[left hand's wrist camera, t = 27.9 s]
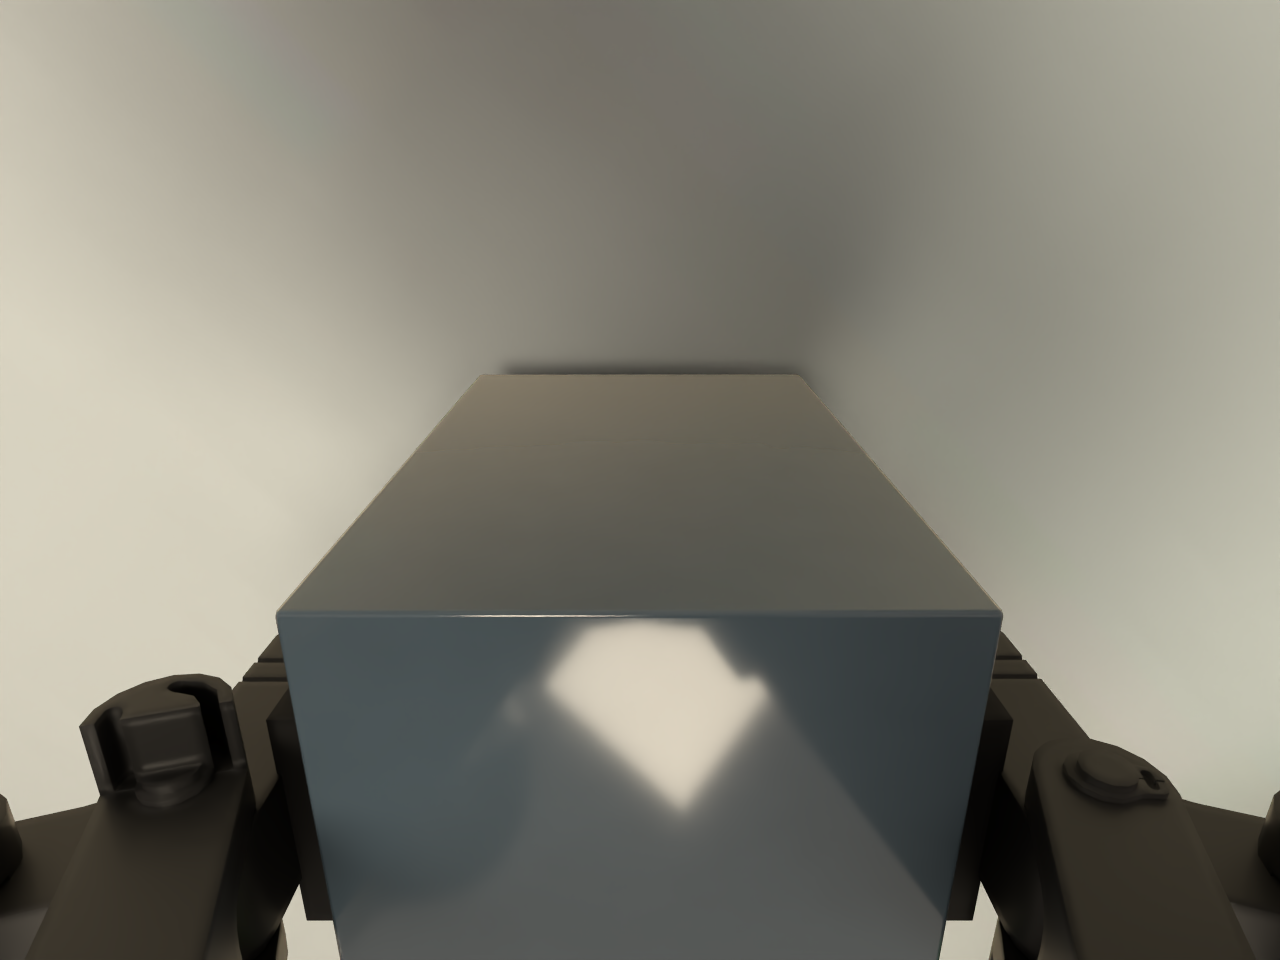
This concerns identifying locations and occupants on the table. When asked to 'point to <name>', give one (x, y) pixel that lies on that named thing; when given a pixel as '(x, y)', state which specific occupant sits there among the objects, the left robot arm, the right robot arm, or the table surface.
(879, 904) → the block
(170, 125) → the table surface
